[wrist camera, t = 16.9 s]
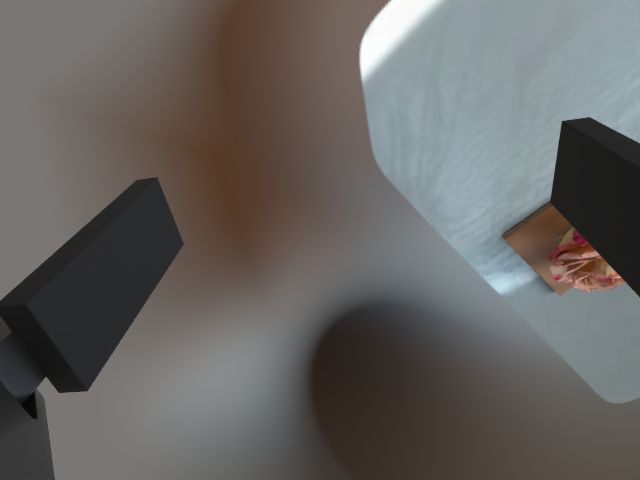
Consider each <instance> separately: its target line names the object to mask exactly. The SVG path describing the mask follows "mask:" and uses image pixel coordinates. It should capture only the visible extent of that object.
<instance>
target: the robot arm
mask: <svg viewBox="0 0 640 480" xmlns="http://www.w3.org/2000/svg"><path fill="white" fill-rule="evenodd" d="M550 203H551V204H552V205H553V206H554V207H555V208H556V209H557V210H558V212H559V213H560V214H561V215H562V216H563V217H564V218H565V219H566V220H567V221H568V222H569V223H570V224H571V225H572V226H573V227H574V228H575V229H576V230H577V232H578V233H579V234H580V235H581V236H582V237H583V238H584V239H585V240H586V241H587V242H588V243H589V244H590V245H591V246H592V247H593V248H594V249H595V250H596V251H597V253H598V254H599V255H600V256H601V257H602V258H603V259H604V260H605V261H606V262H607V263H608V264H609V265H610V266H611V267H612V268H613V269H614V270H615V271H616V273H617V274H618V275H619V276H620V277H621V278H622V279H623V280H624V281H625V282H626V283H627V284H628V285H629V286H630V287H631V288H632V289H633V290H634V291H635V292H636V294H637V295H638V296H639V297H640V143H638V142H636V141H634V140H632V139H630V138H628V137H626V136H624V135H622V134H620V133H619V132H617V131H615V130H613V129H611V128H609V127H607V126H605V125H603V124H601V123H599V122H597V121H596V120H594V119H592V118H590V117H588V118H581V119H574V120H567V121H562V125H561V132H560V139H559V146H558V153H557V160H556V166H555V173H554V180H553V187H552V194H551V201H550ZM183 244H184V243H183V241H182V238H181V236H180V233H179V231H178V228H177V226H176V224H175V221H174V218H173V216H172V213H171V211H170V208H169V206H168V203H167V201H166V198H165V196H164V193H163V191H162V188H161V186H160V183H159V181H158V178H157V177H156V178H149V179H141V180H136V181H135V182H134V183H133V184H132V185H131V186H130V187H128V188H127V189H126V190H125V191H124V192H123V193H122V194H120V196H118V197H117V198H116V199H115V200H114V201H113V202H112V203H110V204H109V205H108V206H107V207H106V208H105V209H104V210H102V211H101V212H100V213H99V214H98V215H97V216H96V217H94V218H93V219H92V220H91V221H90V222H89V223H88V224H87V225H85V226H84V227H83V228H82V229H81V230H80V231H79V232H78V233H76V234H75V235H74V236H73V237H72V238H71V239H70V240H69V241H67V242H66V243H65V244H64V245H63V246H62V247H61V248H59V249H58V250H57V251H56V252H55V253H54V254H53V255H52V256H50V257H49V258H48V259H47V260H46V261H45V262H44V263H43V264H41V265H40V266H39V267H38V268H37V269H36V270H35V271H33V272H32V273H31V274H30V275H29V276H28V277H27V278H26V279H24V280H23V281H22V282H21V283H20V284H19V285H18V286H16V287H15V288H14V289H13V290H12V291H11V292H10V293H9V294H7V295H6V296H5V297H4V298H3V299H2V300H1V301H0V480H55V477H54V470H53V463H52V454H51V447H50V439H49V431H48V424H47V416H46V408H45V401H44V398H43V396H42V395H41V393H40V392H39V391H38V390H37V387H38V386H39V385H40V383H41V382H42V381H43V379H44V378H45V377H47V378H48V379H49V381H50V382H51V383H52V384H53V386H54V387H55V388H56V390H57V391H58V392H59V393H65V392H80V391H88V389H89V388H90V386H91V385H92V383H93V382H94V380H95V379H96V377H97V376H98V374H99V373H100V371H101V370H102V368H103V366H104V365H105V363H106V362H107V360H108V359H109V357H110V356H111V354H112V353H113V351H114V350H115V348H116V347H117V345H118V344H119V342H120V340H121V339H122V338H123V336H124V335H125V333H126V331H127V330H128V329H129V327H130V325H131V324H132V322H133V321H134V319H135V318H136V316H137V315H138V313H139V312H140V310H141V309H142V307H143V306H144V304H145V303H146V301H147V300H148V298H149V296H150V295H151V293H152V292H153V290H154V289H155V287H156V286H157V284H158V283H159V281H160V280H161V278H162V277H163V275H164V274H165V272H166V271H167V269H168V267H169V266H170V265H171V263H172V261H173V260H174V258H175V257H176V255H177V254H178V252H179V251H180V249H181V248H182V246H183Z"/></svg>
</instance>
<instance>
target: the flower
mask: <svg viewBox="0 0 640 480" xmlns="http://www.w3.org/2000/svg"><path fill="white" fill-rule="evenodd" d="M565 220H566V219H565ZM566 221H567V220H566ZM558 238H563V239H562V241H561V243H560V244H559V245H558V247H557V248H556V249H555V250H553V251H552V252H550V254H552V256H549V257H548V258H549V260H550V261H551V260H552V259H553V258H554V257H555V256H556V259H555V260H554V262H553V265H552V266H551V267H549V270H550V273H551V276H552V278H553V279H554V280H557V281H558V282H560V281H562V282H572V286H574V287H576V288H578V289H581V290H584V291H586V292H591V291H592V290H608V289H614V288H615V287H617V286H618V285H619V284H626V285H628V284H627V283H626V282H625V281H624V280H623V279H622V278H621V277H620V276H619V275H618V274H617V273H616V271H615V270H614V269H613V268H612V267H611V266H610V265H609V264H608V263H607V262H606V261H605V260H604V259H603V258H602V257H601V256H600V255H599V254H598V253H597V251H596V250H595V249H594V248H593V247H592V246H591V245H590V244H589V243H588V242H587V241H586V240H585V239H584V238H583V237H582V236H581V235H580V234H579V233H578V232H577V230H576V229H575V228H574V227H573V228H571V229H569V230H568V231H567V232H565V233H564V234H562V235H561V236H559V237H557V238H554V239H558ZM549 240H551V239H549Z"/></svg>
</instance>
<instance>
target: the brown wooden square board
mask: <svg viewBox="0 0 640 480" xmlns="http://www.w3.org/2000/svg"><path fill="white" fill-rule="evenodd" d="M571 228H573V226H572V225H571V224H570V223H569V222H568V221H566V220H565V218H564V217H563V216H562V215H561V214H560V213H559V212H558V210H557V209H556V208H555V207H554V206H553V205H552V204H551V203H548V204H547V205H545V206H544V207H542V208H541V209H540V210H538V211H537V212H535V213H534V214H532V215H531V216H530V217H528V218H527V219H525V220H524V221H522V222H521V223H520V224H518V225H517V226H515V227H514V228H512V229H511V230H510V231H508V232H507V233H505V234H504V235H503V236H502V237H503V238H504V240H505V241H506V242H507V243H508V244H509V245H510V246H511V247H512V248H513V249H514V250H515V251H516V252H517V253H518V254H519V255H520V256H521V257H522V258H523V259H524V260H525V261H526V262H527V263H528V264H529V265H530V266H531V267H532V268H533V269H534V270H535V271H536V272H537V273H538V274H539V275H540V276H541V277H542V278H543V279H544V280H545V281H546V282H547V283H548V284H549V285H550V286H551V287H552V288H553V290H554V291H555V292H556V293H557V294H558V295H561V294H563V293H564V292H566V291H568V290H569V289H571V288H573V287H574V286H572V282H562V281H560V282H558V281H557V280H554V279H553V278H552V276H551V273H550V270H549V267H551V266H552V265H553V262H554V260H555V259H556V256H555V257H554V258H553V259H552V260H551V261H550V260H549V258H548V257H549V256H552V254H550V252H552V251H553V250H555V249H556V248H557V247H558V245H559V244H560V243H561V241H562V239H563V238H558V239H554V238H557V237H559V236H561V235H562V234H564V233H565V232H567V231H568V230H569V229H571ZM549 239H551V240H549Z"/></svg>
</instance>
